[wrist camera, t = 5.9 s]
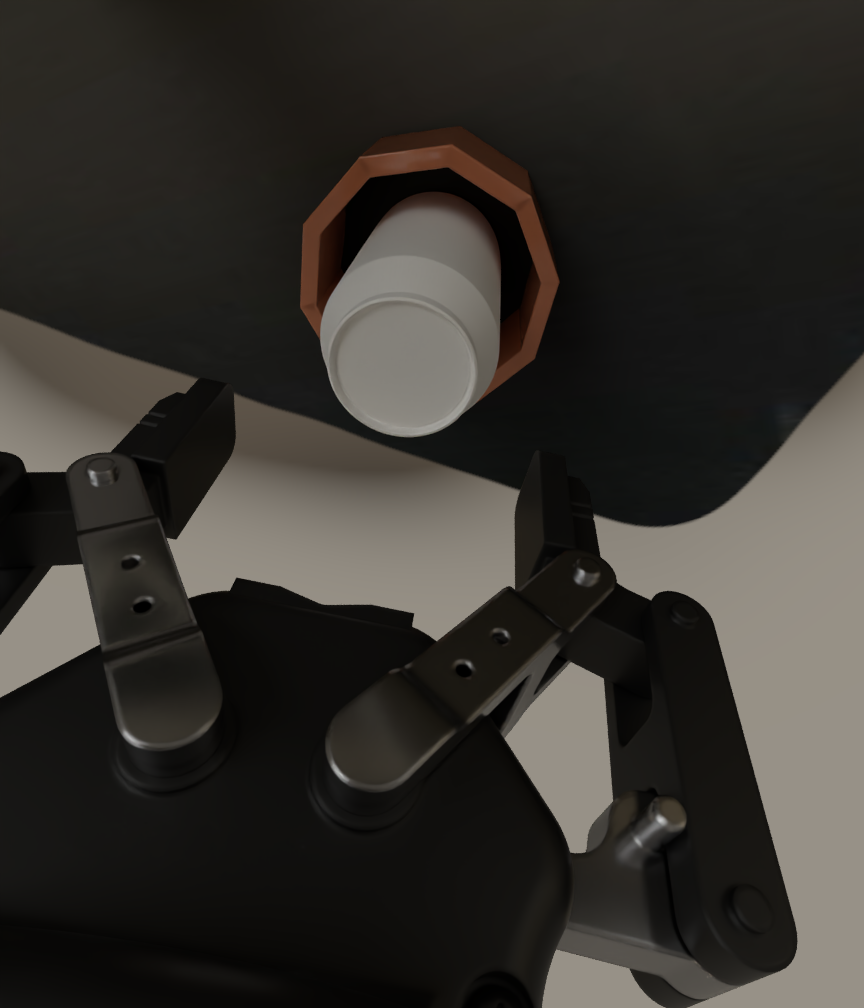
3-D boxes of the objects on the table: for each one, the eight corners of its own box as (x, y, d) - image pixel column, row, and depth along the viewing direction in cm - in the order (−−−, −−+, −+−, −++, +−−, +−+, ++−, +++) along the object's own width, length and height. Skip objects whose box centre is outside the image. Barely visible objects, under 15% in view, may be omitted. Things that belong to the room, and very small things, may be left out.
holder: (323, 340, 31) (297, 384, 27) (338, 97, 24) (306, 110, 20) (511, 381, 31) (511, 430, 28) (580, 153, 24) (594, 177, 21)
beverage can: (521, 212, 26) (529, 312, 17) (476, 336, 30) (463, 473, 21) (388, 166, 25) (322, 245, 16) (361, 299, 29) (295, 424, 20)
